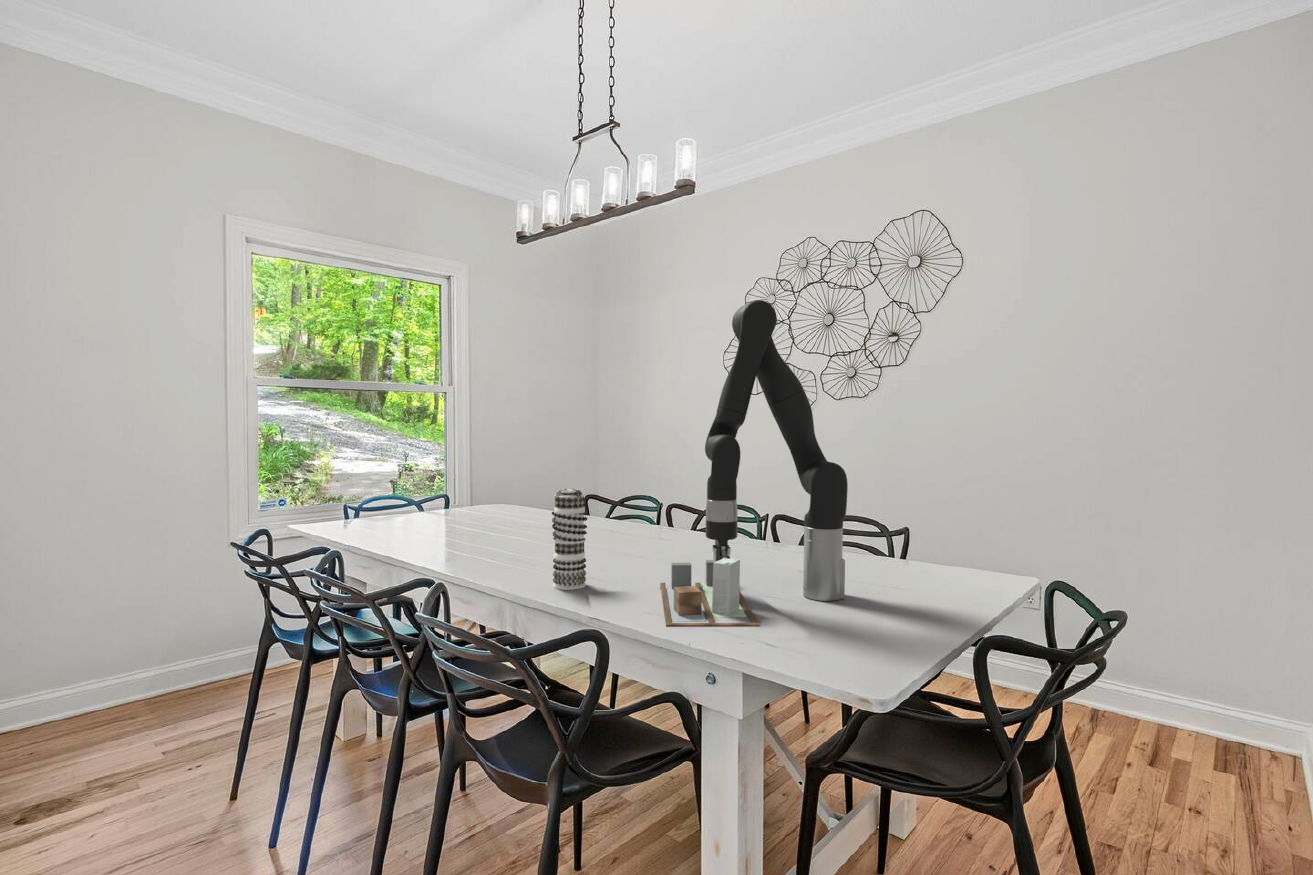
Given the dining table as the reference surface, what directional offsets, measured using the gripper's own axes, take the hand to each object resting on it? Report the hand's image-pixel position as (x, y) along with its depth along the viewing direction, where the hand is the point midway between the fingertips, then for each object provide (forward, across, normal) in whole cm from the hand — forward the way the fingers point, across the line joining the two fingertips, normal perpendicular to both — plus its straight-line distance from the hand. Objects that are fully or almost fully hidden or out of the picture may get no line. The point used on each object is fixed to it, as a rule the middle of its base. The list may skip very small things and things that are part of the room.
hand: (720, 590), depth 162 cm
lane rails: (+2, -5, +4) cm, 7 cm away
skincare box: (+2, -13, 0) cm, 13 cm away
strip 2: (+2, -2, 0) cm, 3 cm away
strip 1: (+2, -5, +9) cm, 11 cm away
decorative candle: (+3, +15, +38) cm, 40 cm away
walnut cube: (+1, -13, +9) cm, 16 cm away
